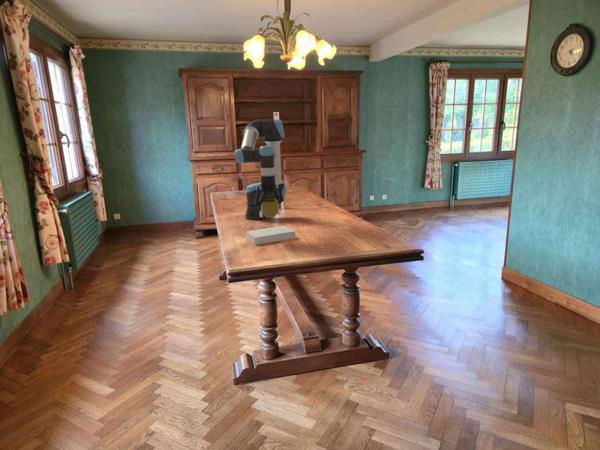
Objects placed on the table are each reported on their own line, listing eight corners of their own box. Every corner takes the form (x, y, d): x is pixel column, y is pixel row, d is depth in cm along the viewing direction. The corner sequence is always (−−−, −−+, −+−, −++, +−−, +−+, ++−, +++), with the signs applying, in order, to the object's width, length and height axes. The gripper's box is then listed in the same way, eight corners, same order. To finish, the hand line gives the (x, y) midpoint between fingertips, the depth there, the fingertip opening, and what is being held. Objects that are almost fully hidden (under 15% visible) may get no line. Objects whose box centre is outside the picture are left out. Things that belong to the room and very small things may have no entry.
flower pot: (263, 219, 209) (262, 202, 207) (260, 215, 217) (259, 199, 215) (279, 217, 211) (278, 201, 209) (275, 214, 219) (275, 198, 217)
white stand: (246, 238, 219) (246, 231, 218) (285, 232, 229) (284, 225, 228) (254, 244, 207) (254, 237, 205) (295, 238, 217) (295, 231, 216)
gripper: (250, 177, 200) (253, 219, 206) (289, 174, 210) (290, 214, 216) (246, 176, 207) (248, 216, 213) (283, 172, 216) (284, 211, 222)
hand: (269, 215), depth 214 cm, fingers closed on flower pot, 9 cm apart
